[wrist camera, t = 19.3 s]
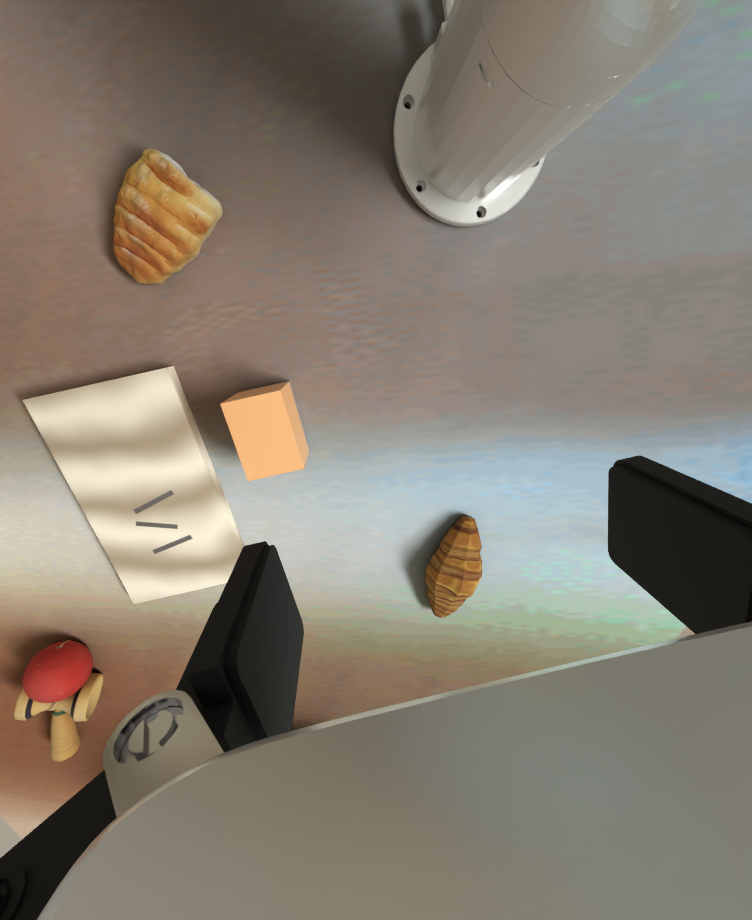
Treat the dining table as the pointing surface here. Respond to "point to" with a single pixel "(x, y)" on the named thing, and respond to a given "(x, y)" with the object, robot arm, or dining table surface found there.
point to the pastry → (160, 218)
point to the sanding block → (267, 430)
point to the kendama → (60, 693)
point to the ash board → (143, 481)
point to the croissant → (454, 567)
